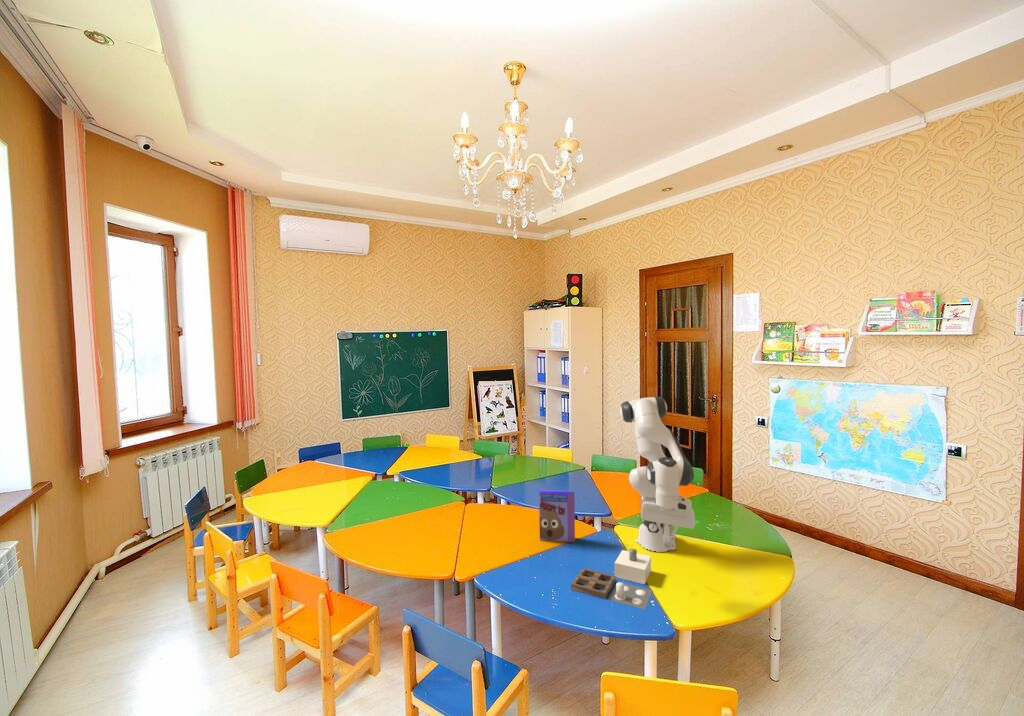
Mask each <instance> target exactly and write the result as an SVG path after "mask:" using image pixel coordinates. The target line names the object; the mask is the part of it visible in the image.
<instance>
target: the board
mask: <svg viewBox="0 0 1024 716" xmlns="http://www.w3.org/2000/svg"><path fill="white" fill-rule="evenodd" d="M653 592H654V590H653V589H649V588H645V587H642V586H637V585H633V584H630V583H625V582H622V581H616V584H615V585H614V587H613V590H612V591H611V593H610V594H609V596H608V598H607V600H608V601H612V602H616V603H619V604H623V605H626V606H630V607H632V608H637V609H640V610H644V611H646V609H647V606H648V604H649V602H650V599H651V596H652V594H653Z"/></svg>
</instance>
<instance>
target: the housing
mask: <svg viewBox="0 0 1024 716" xmlns="http://www.w3.org/2000/svg"><path fill="white" fill-rule="evenodd" d="M637 552H638V551H637V549H636V548H629V551H628V550H624V549H622V550H621V551H620V553H619V555H618V556H617V558H616V560H615V561H614V576H615V578H618V579H620V580H621V579H622V580H625V581H630V582H634V583H638V584H642V585H646V584H647V580H648V578H649V576H650V574H651V572H652V555H647V554H643V553H642V554H641V553H639V552H638V553H637Z"/></svg>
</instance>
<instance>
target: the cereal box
mask: <svg viewBox="0 0 1024 716" xmlns="http://www.w3.org/2000/svg"><path fill="white" fill-rule="evenodd" d="M575 509H576V508H575V491H568V490H567V491H563V490H561V491H560V490H539V492H538V513H539V517H538V518H539V541H542V542H543V541H544V542H545V541H546V542H547V541H548V542H561V543H562V542H563V543H564V542H566V543H576V524H575V523H576V522H575V521H576V520H575V518H576V516H575V515H576V514H575V513H576V512H575Z"/></svg>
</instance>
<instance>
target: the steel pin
mask: <svg viewBox="0 0 1024 716" xmlns="http://www.w3.org/2000/svg"><path fill="white" fill-rule="evenodd" d="M671 530H672V525H668V524H663V546H664V547H667V548H670V547H671Z"/></svg>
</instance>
